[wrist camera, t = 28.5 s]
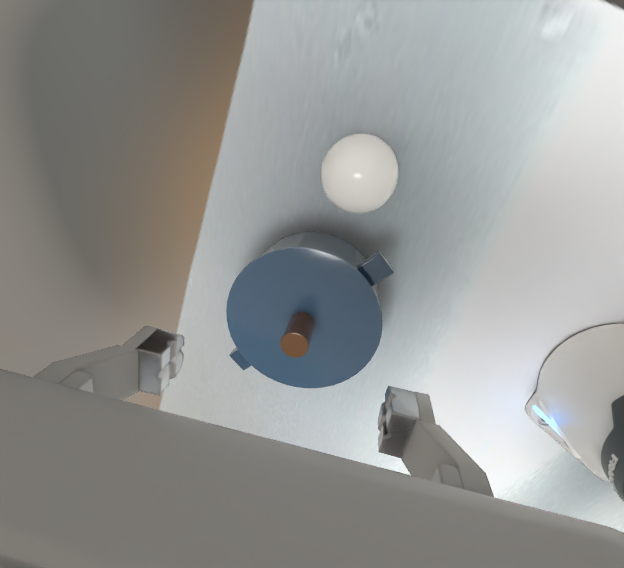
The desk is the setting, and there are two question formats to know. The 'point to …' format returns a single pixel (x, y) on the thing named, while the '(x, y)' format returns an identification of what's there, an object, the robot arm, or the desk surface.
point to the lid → (304, 317)
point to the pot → (371, 267)
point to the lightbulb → (359, 173)
